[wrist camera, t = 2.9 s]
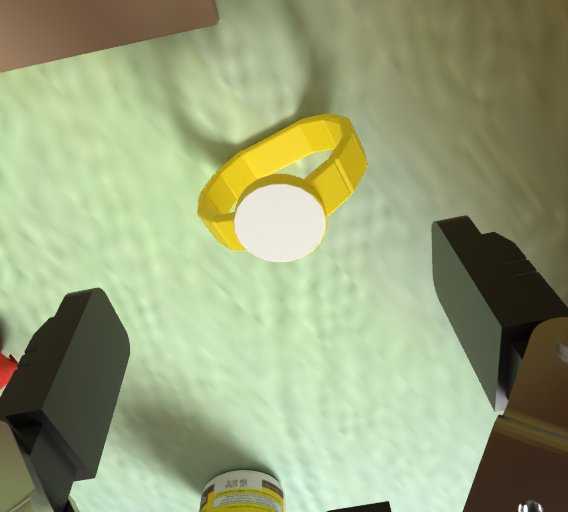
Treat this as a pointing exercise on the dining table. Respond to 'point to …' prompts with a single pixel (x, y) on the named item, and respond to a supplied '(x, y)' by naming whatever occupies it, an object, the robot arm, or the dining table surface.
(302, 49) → the dining table surface
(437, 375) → the dining table surface
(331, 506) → the dining table surface
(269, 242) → the watch
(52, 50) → the walnut board
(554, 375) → the robot arm
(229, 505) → the supplement bottle
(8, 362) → the figurine
